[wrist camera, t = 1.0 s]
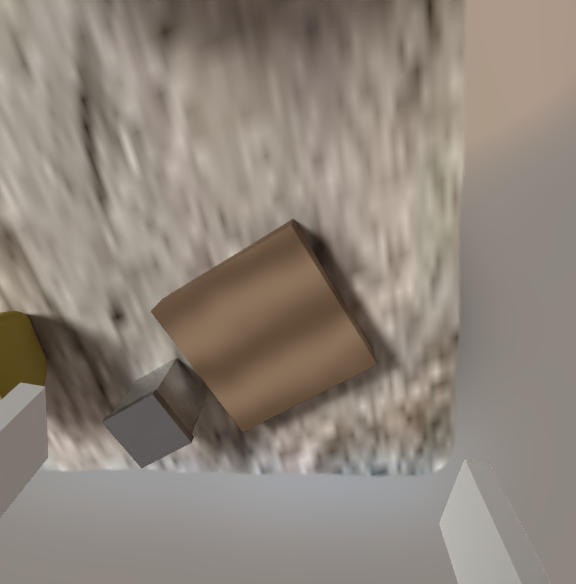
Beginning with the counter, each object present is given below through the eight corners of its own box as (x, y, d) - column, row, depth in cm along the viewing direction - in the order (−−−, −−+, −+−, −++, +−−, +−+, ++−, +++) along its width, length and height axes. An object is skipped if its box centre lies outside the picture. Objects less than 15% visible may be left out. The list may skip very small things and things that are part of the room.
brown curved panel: (162, 299, 40) (150, 311, 37) (293, 219, 37) (291, 225, 34) (248, 414, 44) (243, 433, 41) (374, 350, 41) (378, 366, 38)
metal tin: (133, 380, 43) (102, 422, 37) (176, 355, 42) (152, 394, 36) (166, 420, 45) (141, 468, 38) (209, 397, 44) (191, 442, 37)
